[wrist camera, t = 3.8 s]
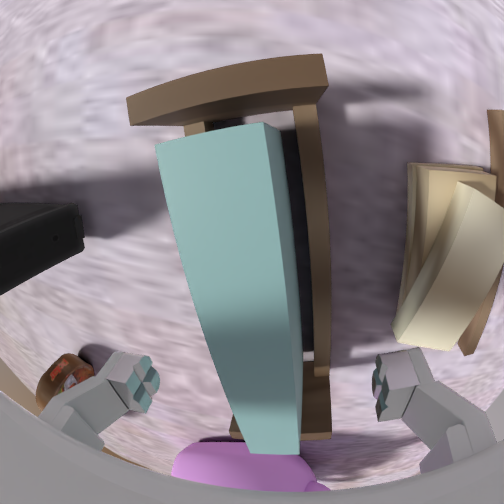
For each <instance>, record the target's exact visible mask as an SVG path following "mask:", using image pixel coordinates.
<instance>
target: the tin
mask: <svg viewBox="0 0 504 504" xmlns="http://www.w3.org/2000/svg"><path fill="white" fill-rule="evenodd" d="M92 376H94V370H93V367H92V366H91V365H90V364H87V363H86V362H84V361H83V360H82V359H80V358H79V357H78V356H76V355H74V354H70V353H68V354H64V355H62V356H61V357H60V358H59V359H58V360H57V361H55V362H54V363H53V364H52V365H51V367H50V368H49V369H48V370H47V371H46V372H45V373H44V374H43V375H42V377H41V379H40V381H39V383H38V386H37V390H36V402H37V405H38V407H39V409H40V410H41V412H42V411H43V410H44V408H45V407H46V405H47V404H48V403H49V401H50V400H51V399H52V397H54V396H56V395H58V394H60V393H62V392H64V391H66V390H68V389H70V388H72V387H73V386H75V385H77V384H79V383H81V382H83V381H85V380H87V379H88V378H90V377H92Z"/></svg>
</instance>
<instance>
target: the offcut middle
mask: <svg viewBox="0 0 504 504" xmlns="http://www.w3.org/2000/svg"><path fill="white" fill-rule="evenodd" d="M457 182H460V183H463V184H465V185H467V186H470V187H472V188H474V189H476V190H478V191H479V192H481V193H482V194H484V195H485V196H487V197H488V198H490V199H491V200H493V201H494V202H495V191H496V176H495V175H492V174H489V173H486V172H483V171H478V170H469V169H459V168H447V167H433V166H416V208H415V223H414V234H413V244H412V252H411V260H410V267H409V274H408V280H407V286H406V292H405V297H404V301H405V299H406V298H407V296H408V294H409V292H410V290H411V289H412V287H413V285H414V283H415V281H416V279H417V277H418V275H419V273H420V271H421V269H422V267H423V265H424V263H425V261H426V259H427V257H428V255H429V253H430V251H431V248H432V246H433V244H434V242H435V240H436V237H437V235H438V233H439V230H440V228H441V225H442V223H443V220H444V218H445V215H446V213H447V210H448V208H449V205H450V202H451V199H452V196H453V194H454V191H455V188H456V185H457ZM403 303H404V302H403Z"/></svg>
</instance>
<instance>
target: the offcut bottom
mask: <svg viewBox="0 0 504 504" xmlns="http://www.w3.org/2000/svg"><path fill="white" fill-rule="evenodd" d="M416 166H433V167H447V168H459V169H469V170H478V171H483V168H481V167H477V166H468V165H455V164H437V163H407V175H408V202H407V228H406V242H405V254H404V263H403V272H402V280H401V287H400V293H399V300H398V306H397V311H396V315H397V313H398V311H399V310H400V308H401V306H402V305H403V302H404V297H405V292H406V286H407V280H408V274H409V267H410V260H411V252H412V244H413V234H414V223H415V208H416Z"/></svg>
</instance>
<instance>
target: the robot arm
mask: <svg viewBox="0 0 504 504" xmlns="http://www.w3.org/2000/svg"><path fill="white" fill-rule="evenodd" d="M375 363H376V367H377V368H376V369H375V370H374V371H373V376H372V391H373V396H374V397H375V398H376V399H377V403H376V406H375V407H376V413H377V418H378V422H381V421H388V420H394V419H400V418H402V421H403V422H404V423H405V424H406V425H407V426H408V427H409V428H410V429H411V430H412V431H413V432H414V433H415V434H416V435H417V436H418V437H419V438H420V439H421V440H422V441H423V442H424V443H425V444H426V445H427V447H428V448H429V449H430V450H431V451H430V452H429V453H428V454H427V455H426V456H425V458H424V459H423V460H422V461H421V462H420V464H419V465H420V471H421V474H419V475H415V476H412V477H408V478H404V479H400V480H396V481H391V482H386V483H381V484H376V485H370V486H364V487H357V488H350V489H341V490H330V491H313V492H275V491H257V490H246V489H237V488H229V487H222V486H216V485H210V484H205V483H199V482H195V481H190V480H186V479H181V478H177V477H173V476H170V475H166V474H162V473H159V472H156V471H152V470H149V469H146V468H143V467H140V466H137V465H134V464H131V463H129V462H126V461H123V460H121V459H118V458H115V457H113V456H111V455H108V454H106V453H104V452H101V450H102V448H103V446H104V444H105V443H104V441H103V440H102V439H101V438H100V437H99V436H98V434H99V433H100V432H102V431H103V430H104V429H106V428H107V427H108V426H110V425H111V424H112V423H113V422H115V421H116V420H117V419H119V418H120V417H121V416H123V415H124V414H125V413H126V412H128V411H129V410H133V411H137V412H142V413H146V412H147V410H148V408H149V406H150V404H151V403H152V398H151V396H152V395H154V394H155V393H157V391H158V389H159V385H160V378H159V374H158V372H157V371H156V370H155V369H154V368H153V367H152V361H151V359H150V357H149V356H145V355H139V354H133V353H127V352H120V351H116V352H114V353H113V354H112V355H111V357H110V358H109V359H108V361H107V362H106V363H105V365H104V366H103V367H102V369H101V370H100V371H99V373H98V374H97V375H96V377H95V376H92V377H90V378H88V379H87V380H85V381H83V382H81V383H79V384H77V385H75V386H73V387H72V388H70V389H68V390H66V391H64V392H62V393H60V394H58V395H56V396H54V397H52V399H51V400H50V401H49V403H48V404H47V405H46V407H45V408H44V410H43V411H42V412H41V414H40V415H39V417H37V416H35V415H33V414H32V413H31V412H29V411H27V410H26V409H25V408H23V407H22V406H21V405H19V404H18V403H16V402H15V401H14V400H12V399H11V398H10V397H8V396H7V395H6V394H5V393H3V392H2V391H1V390H0V504H504V440H502V441H500V442H498V443H497V441H496V438H495V436H494V433H493V430H492V427H491V425H490V422H489V419H488V417H487V414H486V412H484V411H483V410H481V409H480V408H478V407H477V406H475V405H474V404H472V403H471V402H470V401H468V400H467V399H465V398H464V397H462V396H461V395H459V394H458V393H456V392H455V391H453V390H452V389H450V388H449V387H447V386H446V385H444V384H443V383H441V382H440V381H435V380H434V378H433V375H432V373H431V370H430V368H429V366H428V363H427V361H426V359H425V357H424V354H423V352H422V350H421V349H420V348H419V347H417V348H412V349H407V350H401V351H395V352H389V353H383V354H378V355H377V357H376V362H375ZM128 409H129V410H128Z"/></svg>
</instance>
